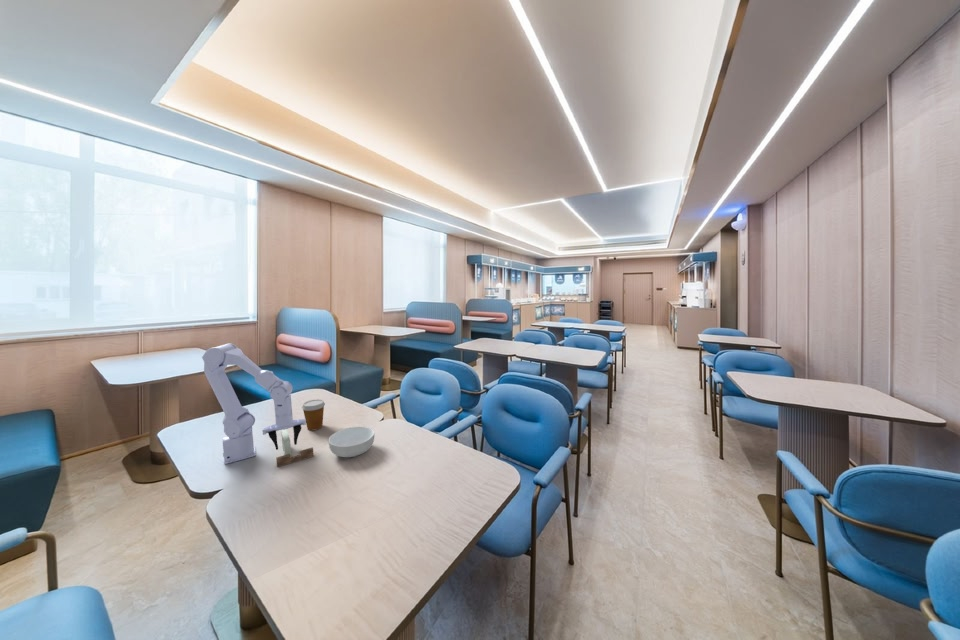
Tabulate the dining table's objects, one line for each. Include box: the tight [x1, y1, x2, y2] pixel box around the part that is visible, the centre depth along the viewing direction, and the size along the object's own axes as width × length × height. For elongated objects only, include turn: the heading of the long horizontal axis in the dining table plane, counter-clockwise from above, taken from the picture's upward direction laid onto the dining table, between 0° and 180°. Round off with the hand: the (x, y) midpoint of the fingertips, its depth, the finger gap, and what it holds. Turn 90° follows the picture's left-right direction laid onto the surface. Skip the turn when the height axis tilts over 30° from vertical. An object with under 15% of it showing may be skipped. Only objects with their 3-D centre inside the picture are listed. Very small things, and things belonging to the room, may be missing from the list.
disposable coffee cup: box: [301, 398, 326, 431], centre depth 146 cm, size 10×10×12 cm
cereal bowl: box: [328, 426, 375, 458], centre depth 124 cm, size 17×17×7 cm
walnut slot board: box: [275, 447, 315, 468], centre depth 119 cm, size 12×2×3 cm, turn 127°
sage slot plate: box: [280, 429, 292, 457], centre depth 125 cm, size 12×2×7 cm, turn 37°
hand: (286, 446), depth 125 cm, fingers open, 6 cm apart
